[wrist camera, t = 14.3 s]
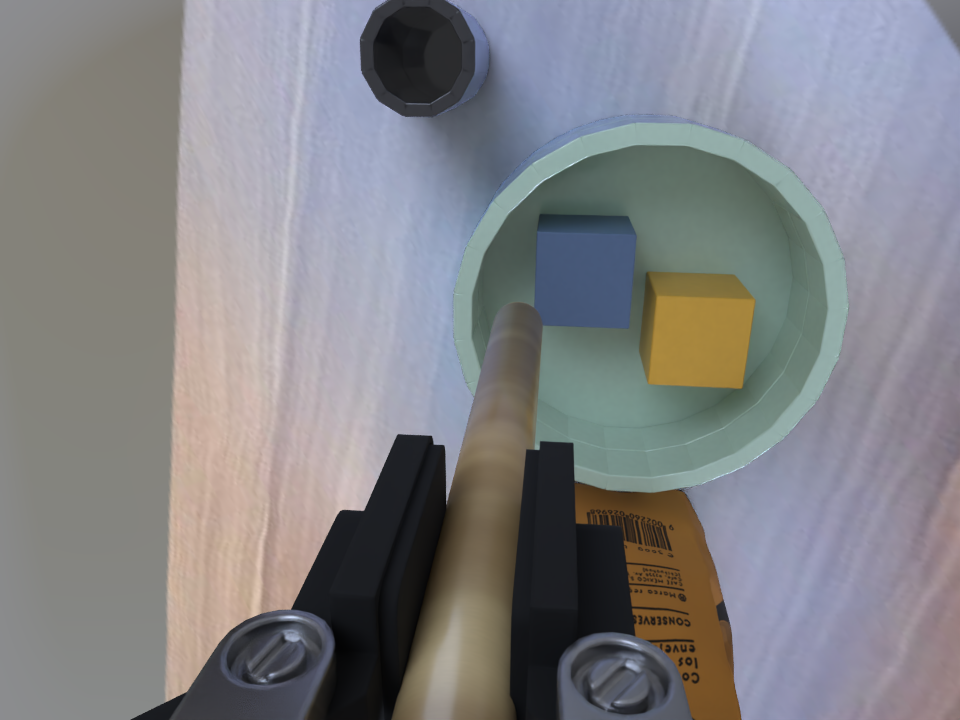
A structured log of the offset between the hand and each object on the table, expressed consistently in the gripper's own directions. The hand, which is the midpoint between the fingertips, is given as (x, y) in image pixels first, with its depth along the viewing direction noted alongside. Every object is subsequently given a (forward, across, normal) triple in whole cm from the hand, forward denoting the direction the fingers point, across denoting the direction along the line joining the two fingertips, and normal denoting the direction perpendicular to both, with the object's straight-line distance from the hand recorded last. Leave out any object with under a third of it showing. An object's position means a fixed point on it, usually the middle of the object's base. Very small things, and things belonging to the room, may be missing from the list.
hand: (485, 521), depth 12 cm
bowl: (+25, -5, +3) cm, 25 cm away
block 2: (+24, -7, +4) cm, 25 cm away
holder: (+25, +4, -7) cm, 26 cm away
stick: (+11, 0, 0) cm, 11 cm away
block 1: (+24, -2, +2) cm, 24 cm away
